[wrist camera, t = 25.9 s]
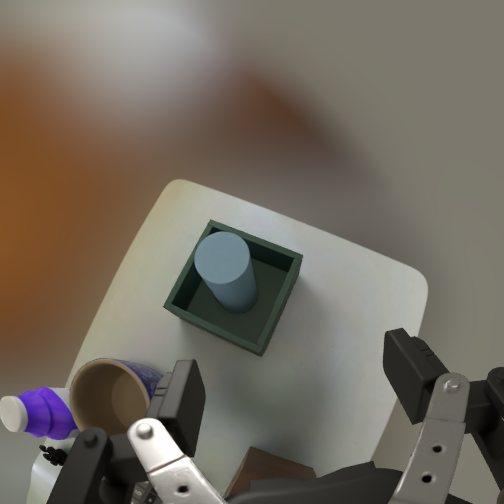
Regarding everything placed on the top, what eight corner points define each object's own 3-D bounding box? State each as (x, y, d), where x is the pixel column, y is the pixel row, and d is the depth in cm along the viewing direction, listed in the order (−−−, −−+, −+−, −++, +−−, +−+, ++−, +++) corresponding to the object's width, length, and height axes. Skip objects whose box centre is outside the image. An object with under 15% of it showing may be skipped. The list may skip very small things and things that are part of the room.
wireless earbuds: (50, 446, 34) (31, 449, 30) (53, 435, 35) (34, 438, 30) (81, 471, 33) (63, 477, 28) (85, 460, 34) (67, 466, 29)
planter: (187, 438, 35) (158, 456, 25) (116, 435, 36) (73, 447, 25) (178, 361, 40) (147, 356, 29) (109, 364, 40) (65, 357, 29)
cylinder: (248, 270, 43) (237, 223, 30) (263, 304, 41) (258, 269, 28) (213, 285, 42) (187, 244, 30) (227, 320, 40) (205, 292, 28)
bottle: (66, 407, 37) (-14, 406, 21) (82, 381, 39) (1, 373, 23) (98, 439, 35) (20, 455, 19) (115, 413, 37) (37, 423, 21)
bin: (219, 241, 46) (210, 219, 40) (299, 273, 43) (303, 254, 37) (179, 317, 42) (162, 306, 36) (262, 356, 39) (259, 353, 33)
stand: (250, 445, 35) (241, 469, 24) (312, 467, 33) (325, 496, 23) (223, 496, 32) (207, 530, 22) (284, 517, 30) (286, 555, 20)
